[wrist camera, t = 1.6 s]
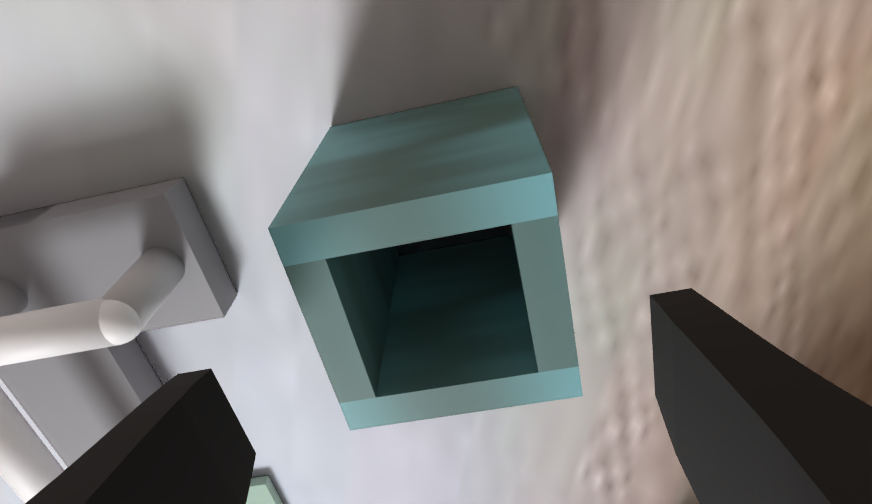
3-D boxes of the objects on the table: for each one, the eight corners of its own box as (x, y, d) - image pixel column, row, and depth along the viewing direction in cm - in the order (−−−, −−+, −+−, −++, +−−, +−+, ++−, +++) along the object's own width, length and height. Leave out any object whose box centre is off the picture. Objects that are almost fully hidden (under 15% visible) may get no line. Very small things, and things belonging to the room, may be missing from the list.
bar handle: (183, 177, 16) (100, 254, 12) (313, 459, 22) (283, 573, 18) (-64, 230, 17) (-211, 316, 13) (119, 487, 23) (51, 600, 19)
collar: (517, 86, 15) (552, 172, 10) (543, 253, 17) (582, 396, 12) (330, 127, 15) (267, 228, 10) (380, 282, 18) (350, 430, 13)
